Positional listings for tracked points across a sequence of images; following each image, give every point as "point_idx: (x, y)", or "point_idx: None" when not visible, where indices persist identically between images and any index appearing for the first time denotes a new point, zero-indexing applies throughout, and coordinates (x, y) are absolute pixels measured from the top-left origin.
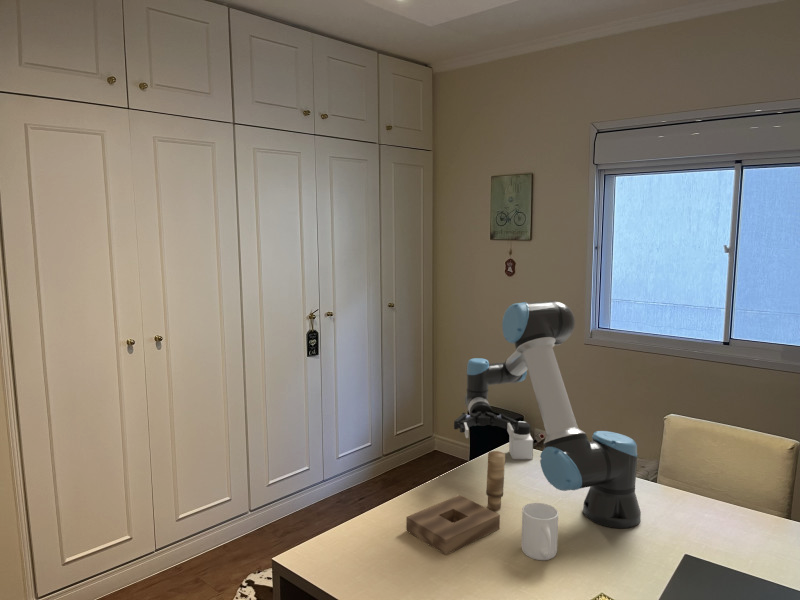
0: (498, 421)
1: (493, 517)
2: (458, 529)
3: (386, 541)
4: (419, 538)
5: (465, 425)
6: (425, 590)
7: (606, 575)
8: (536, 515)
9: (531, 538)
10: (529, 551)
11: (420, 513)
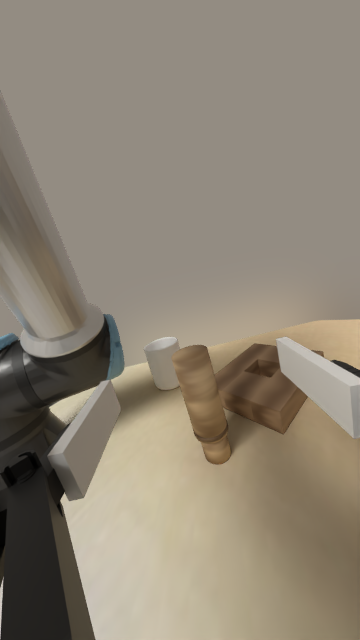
0: (70, 589)
1: None
2: (247, 354)
3: (330, 353)
4: None
5: (318, 357)
6: (256, 336)
7: (131, 374)
8: (162, 362)
9: None
10: None
11: None
